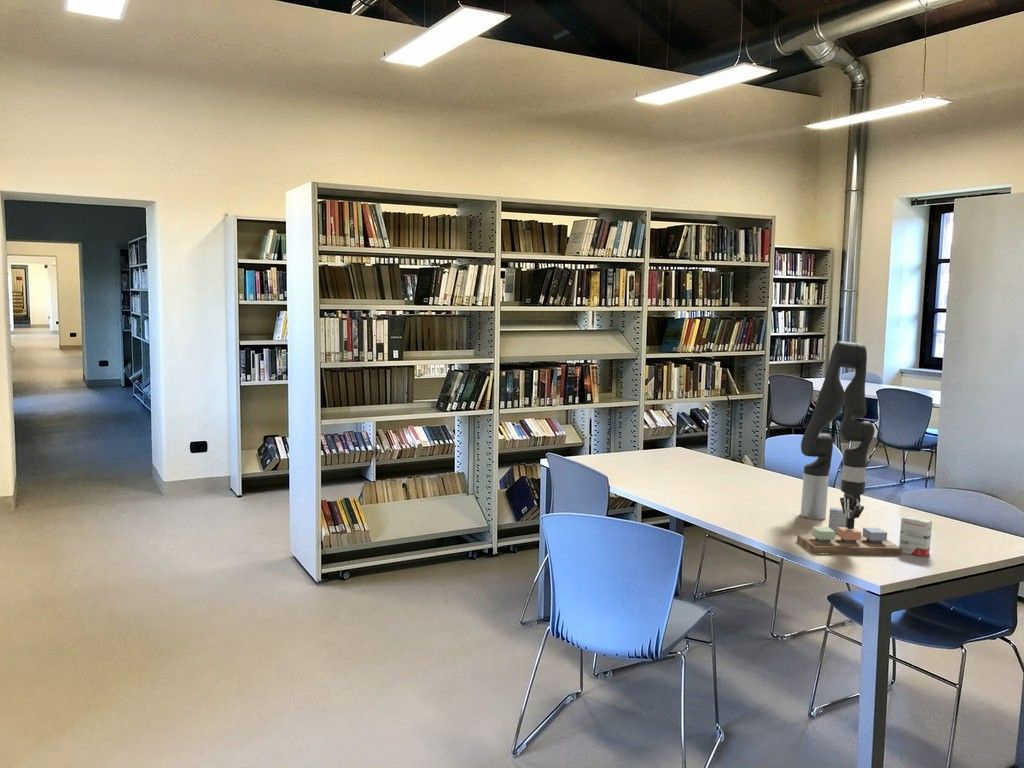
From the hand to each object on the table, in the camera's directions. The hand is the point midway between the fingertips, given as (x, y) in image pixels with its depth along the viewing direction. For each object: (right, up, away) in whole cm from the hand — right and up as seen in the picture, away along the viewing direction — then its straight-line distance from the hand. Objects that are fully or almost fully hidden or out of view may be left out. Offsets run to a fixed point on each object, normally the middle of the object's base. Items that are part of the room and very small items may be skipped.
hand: (849, 528), depth 270 cm
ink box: (+21, -8, -2) cm, 23 cm away
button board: (0, -7, +1) cm, 7 cm away
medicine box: (+5, -5, +20) cm, 21 cm away
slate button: (+9, -3, +1) cm, 10 cm away
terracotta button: (0, -3, 0) cm, 3 cm away
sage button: (-9, -3, 0) cm, 10 cm away
